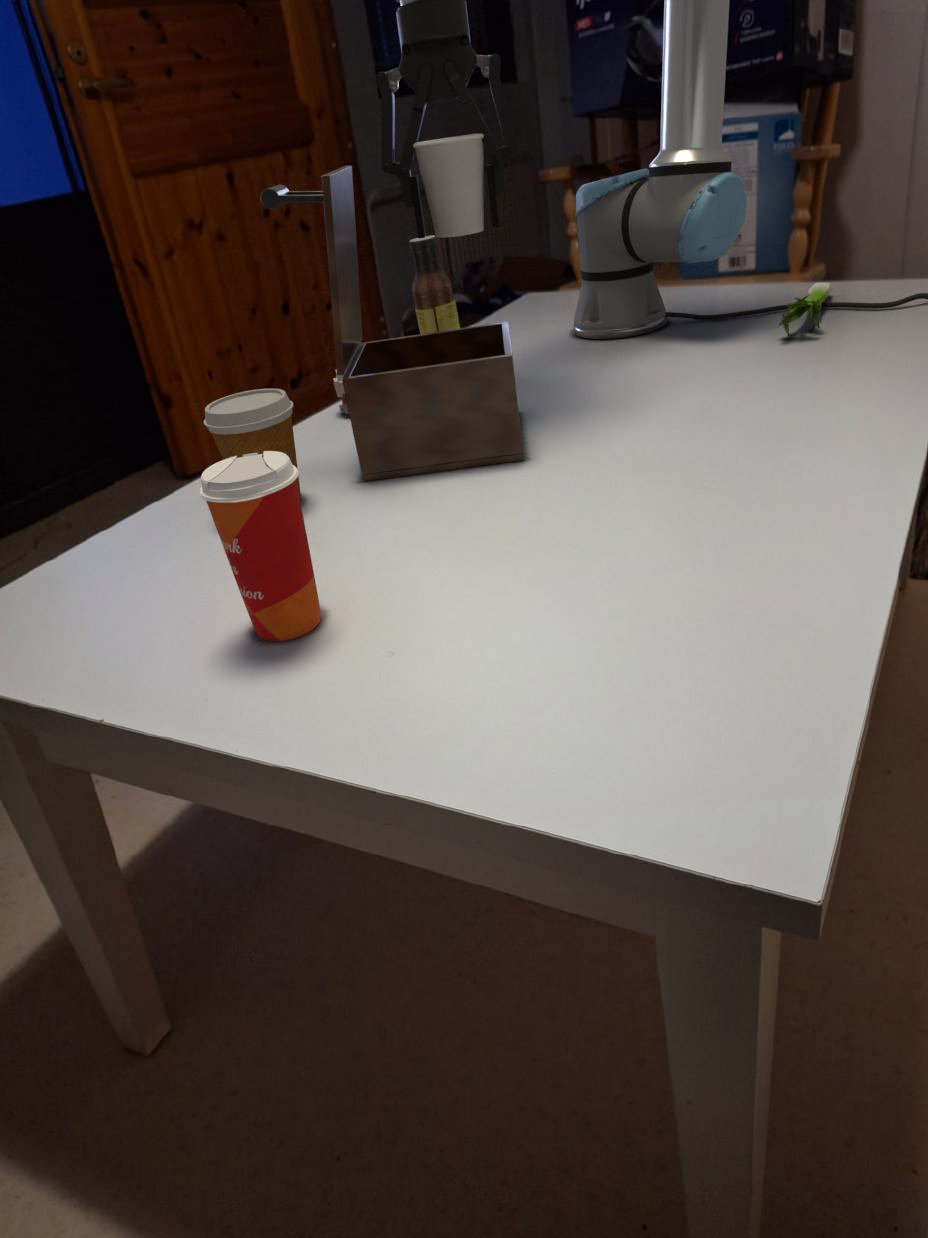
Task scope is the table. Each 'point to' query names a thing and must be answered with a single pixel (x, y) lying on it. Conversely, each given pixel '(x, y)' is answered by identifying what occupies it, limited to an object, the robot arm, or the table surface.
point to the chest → (434, 402)
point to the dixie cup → (454, 183)
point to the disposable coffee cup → (253, 424)
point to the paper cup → (265, 541)
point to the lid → (335, 255)
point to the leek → (807, 305)
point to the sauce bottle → (432, 289)
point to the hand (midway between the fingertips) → (459, 231)
